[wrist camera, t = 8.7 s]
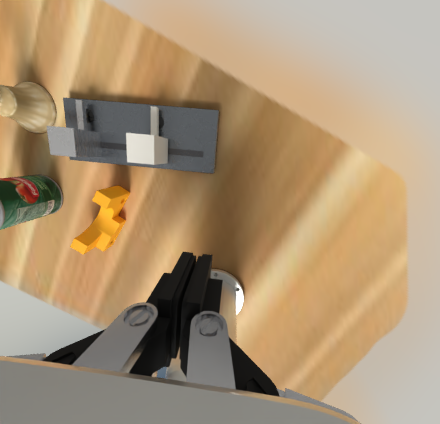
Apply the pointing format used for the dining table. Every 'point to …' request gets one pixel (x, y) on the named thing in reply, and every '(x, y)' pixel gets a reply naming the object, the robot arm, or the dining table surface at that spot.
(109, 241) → the pipe clamp
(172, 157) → the plate
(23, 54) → the dining table surface
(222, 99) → the dining table surface
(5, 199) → the canned tomato
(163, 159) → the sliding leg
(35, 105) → the hand bell
